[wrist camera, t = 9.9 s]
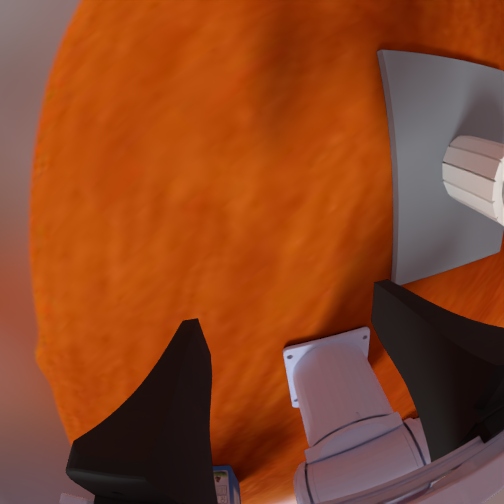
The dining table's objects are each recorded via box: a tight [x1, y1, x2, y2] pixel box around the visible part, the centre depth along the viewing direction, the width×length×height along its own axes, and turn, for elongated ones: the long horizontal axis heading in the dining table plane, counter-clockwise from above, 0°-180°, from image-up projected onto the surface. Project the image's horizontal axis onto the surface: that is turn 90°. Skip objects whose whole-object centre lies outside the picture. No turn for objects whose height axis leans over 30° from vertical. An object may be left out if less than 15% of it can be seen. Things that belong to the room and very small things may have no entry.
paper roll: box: [442, 136, 504, 226], centre depth 16 cm, size 5×5×6 cm
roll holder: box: [377, 50, 504, 285], centre depth 17 cm, size 18×14×3 cm
